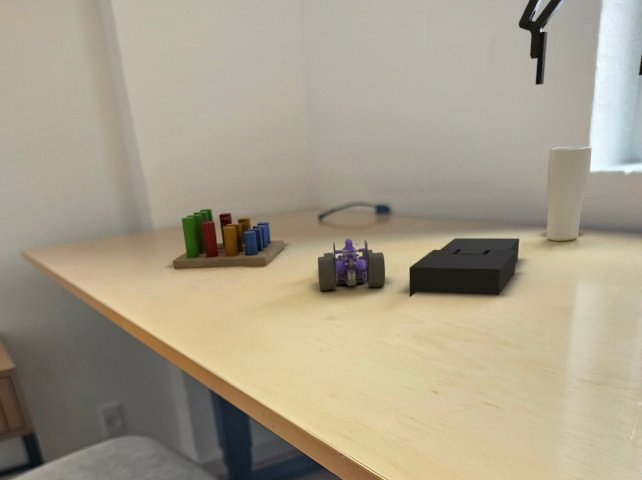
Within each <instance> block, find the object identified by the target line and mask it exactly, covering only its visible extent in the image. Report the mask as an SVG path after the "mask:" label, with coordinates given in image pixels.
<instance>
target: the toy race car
mask: <svg viewBox="0 0 642 480" xmlns="http://www.w3.org/2000/svg"><path fill="white" fill-rule="evenodd" d="M353 243H354V242H353V240H352V239H351V238H346V239H345V241H344V247H342V249H337V250H336V244H335V242H333V243H332V244H333V245H332V248H333V252H324V253H323V256H318V257H317V271H318V284H319V291H320V292H324V291H325V292H327V291H335V290H336V288H337V285H346V286H347V287H355V286H357V285H358V284H363V283H365V282H367V283H366V284H367V287H368V288H378V287H379V288H380V287H385V284H386V262H385V255H384V253H383V252H382V251H381V252H373V249H368V247H369V246H368V242H367V240H364V248H358V249H356V247H355V246H354V244H353ZM359 253H361V255H360V254H359ZM336 255H337V257H336Z"/></svg>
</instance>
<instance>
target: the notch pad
mask: <svg viewBox="0 0 642 480" xmlns="http://www.w3.org/2000/svg"><path fill="white" fill-rule="evenodd" d="M515 261H516V250H490V251H489V252H488V253H487V254H457V250H440V249H433V250H431V251H430V252H427V254H426V255H424V256H423V257H421V258H420V259H419V260H418V261H416V262H415V263H414V264H411V266H409V269H408V271H409V272H408V273H409V274H408V275H409V279H408V280H409V297H412V296H414V295H415V294H416V293H427V294H429V293H431V294H432V293H433V294H456V295H457V294H459V295H482V296H486V295H487V296H500V294H501V293H502V291H503V290H504V289H505V288H506V286H507V285H508V284H509V282H510V281H511V279H512V278H513V277H514V276H515V275H516V274H515V273H516V263H515Z"/></svg>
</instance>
